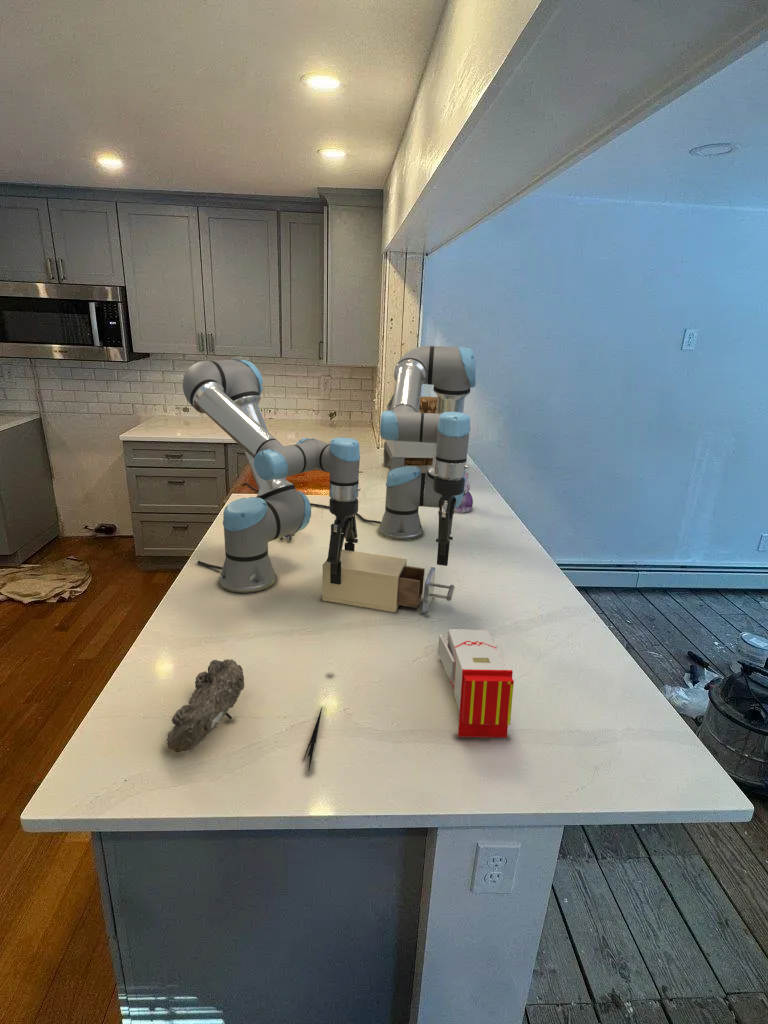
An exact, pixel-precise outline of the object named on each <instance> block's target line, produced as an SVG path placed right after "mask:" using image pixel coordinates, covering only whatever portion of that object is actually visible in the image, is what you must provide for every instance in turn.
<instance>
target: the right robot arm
mask: <svg viewBox="0 0 768 1024" xmlns="http://www.w3.org/2000/svg"><path fill="white" fill-rule="evenodd" d="M476 370H477V368H476V355H475V351H474V350H473V349H472V348H468V347H461V346H440V345H439V346H438V345H421V346H418V347H415V348H412V349H411V350H409V351H407V352H406V353H405V354H403V355H402V356H401V357H400V358H399V360H398V361H397V362H396V365H395V367H394V371H393V377H394V380H395V381H394V382H395V385H394V390H393V394H394V395H393V394H392V396H393V401H392V406H391V410H390V411H387V410H384V411H382V412H381V414H380V419H379V420H380V423H379V436H380V438H381V439H382V440H384V441H385V440H392V441H408V442H424V443H434V451H433V464H432V465H430V466H428V468H427V472H422V469H421V468H420V467H419V466H418V467H417V466H404V467H399V468H395V469H393V470H391V471H390V470H389V471H388V473H387V475H386V482H385V487H386V488H385V489H386V490H385V504H384V505H385V507H384V508H385V509H384V513H383V515H382V519H381V521H380V520H372V519H367V518H364V517H363V516H362V515H360V514H359V513H358V512H357V513H356V514H355V516H357V517H358V518H359V519H360V520H361V521H363V522H366V523H372V524H379V526H378V533H379V534H380V535H381V536H382V537H385V538H387V539H389V540H395V541H410V540H415V539H418V538H420V537H421V536H422V535H423V525H422V524H421V518H420V515H419V507H425V508H436V509H438V512H437V513H438V529H437V538H436V539H435V543H438V544H437V555H436V565H437V566H444V567H447V566H448V565H449V557H450V542H451V541H453V540H454V536H452V533H453V532H452V528H453V520H454V518H453V517H454V515H455V511H454V509H455V508H457V507H459V505H460V504H461V501H462V498H463V493H464V487H465V480H466V479H465V473H467V471H466V470H468V469H469V465H468V464H467V460H468V449H469V440H470V433H471V416H470V415H469V414H467V413H464V408H465V398H466V397H467V396H468V395H469V394H470V393H471V388H475V387H476V385H477V382H476V381H477V373H476V372H477V371H476ZM422 385H431V386H433V390H432V391H433V393H435V395H436V397H438V399H437V412H436V414H434V413H419V405H420V397H421V396H422V395H421V394H422ZM241 486H242V487H244V486H246V487H248V488H249V489H250V490H252V491H254V492H256V493H258V492H259V489H256V488H255V487H253V486H252V485H250V484H249V483H247V482H244V483H242V485H241ZM310 505H311V507H317V508H318V507H319V508H324V509H329V505H324V504H320V503H313V502H310Z"/></svg>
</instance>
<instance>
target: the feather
mask: <svg viewBox="0 0 768 1024" xmlns="http://www.w3.org/2000/svg"><path fill="white" fill-rule="evenodd" d="M329 675H330V676H331V675H332V674H331V673H330V674H329ZM322 710H323V707H321V708H320V710H319V713H318V716H317V719H316V723H315V725H314V728H313V731H312V733H311V737H310V739H309V742H308V745H307V748H306V751H305V754H304V757H303V760H302V763H301V767H302V765H303V763H304V761H305V758H308V759H309V760H308V762H307V763H308V764H307V766H308V771H310V770H311V766H312V765H311V764H312V760H313V757H315V756H314V755H315V751H316V749H315V746H317V739H318V733H319V729H320V722H321V717H322V712H323V711H322ZM313 754H314V755H313ZM306 755H307V757H306Z"/></svg>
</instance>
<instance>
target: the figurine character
mask: <svg viewBox="0 0 768 1024" xmlns="http://www.w3.org/2000/svg"><path fill="white" fill-rule="evenodd" d="M295 535H296V533H294V534H290V535H287V536H284V537H281V538H279V540H280V541H283V539H284V538H288V541H289V542H290V541H292V537H294V536H295Z"/></svg>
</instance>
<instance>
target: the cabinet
mask: <svg viewBox="0 0 768 1024" xmlns="http://www.w3.org/2000/svg"><path fill="white" fill-rule="evenodd" d="M340 561H341V584H340V585H339V584H332V583H330V563H331V562H327V559H326V561H325V562H324V563H323V564H322V589H321V590H322V592H321V593H322V595H321V597H322V598H321V599H322V600H321V601H326V602H332V603H336V604H342V605H348V606H349V605H350V606H354V607H360V608H367V609H373V610H379V611H385V612H390V613H397V610H398V608H399V606H400V605H397V595H398V578H399V576H400V574H401V572H402V570H403V568H404V566H408V565H407V562H408V558H404V557H396V556H389V555H384V554H382V555H381V554H377V553H376V554H375V553H371V552H370V553H369V552H362V551H357V550H354V551H349V550H345V549H342V552H341V558H340Z"/></svg>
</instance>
